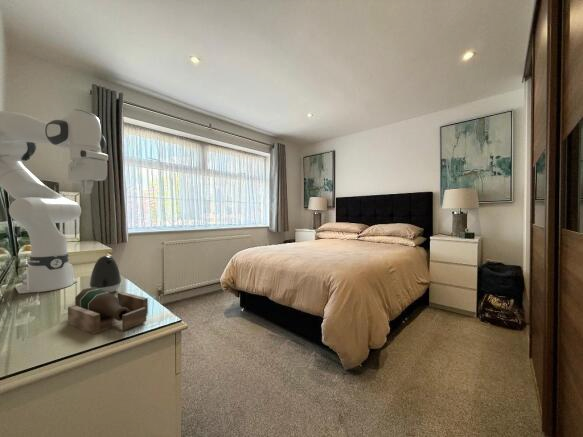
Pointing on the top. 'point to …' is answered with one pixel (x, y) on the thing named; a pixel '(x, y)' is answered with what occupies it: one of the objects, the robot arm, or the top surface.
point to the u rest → (94, 324)
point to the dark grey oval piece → (105, 275)
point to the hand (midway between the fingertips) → (86, 193)
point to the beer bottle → (100, 303)
